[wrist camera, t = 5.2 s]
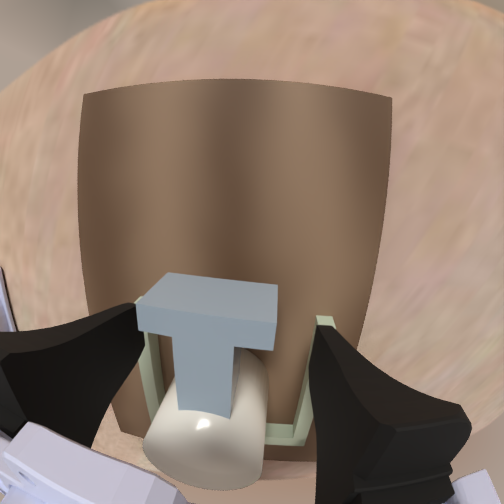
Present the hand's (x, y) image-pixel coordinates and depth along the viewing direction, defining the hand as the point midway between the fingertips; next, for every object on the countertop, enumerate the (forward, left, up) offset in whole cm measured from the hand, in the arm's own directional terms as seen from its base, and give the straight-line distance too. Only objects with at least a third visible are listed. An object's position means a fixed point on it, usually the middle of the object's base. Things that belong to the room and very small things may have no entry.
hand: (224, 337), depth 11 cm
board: (-1, -1, -4) cm, 4 cm away
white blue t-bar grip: (0, -2, -3) cm, 4 cm away
